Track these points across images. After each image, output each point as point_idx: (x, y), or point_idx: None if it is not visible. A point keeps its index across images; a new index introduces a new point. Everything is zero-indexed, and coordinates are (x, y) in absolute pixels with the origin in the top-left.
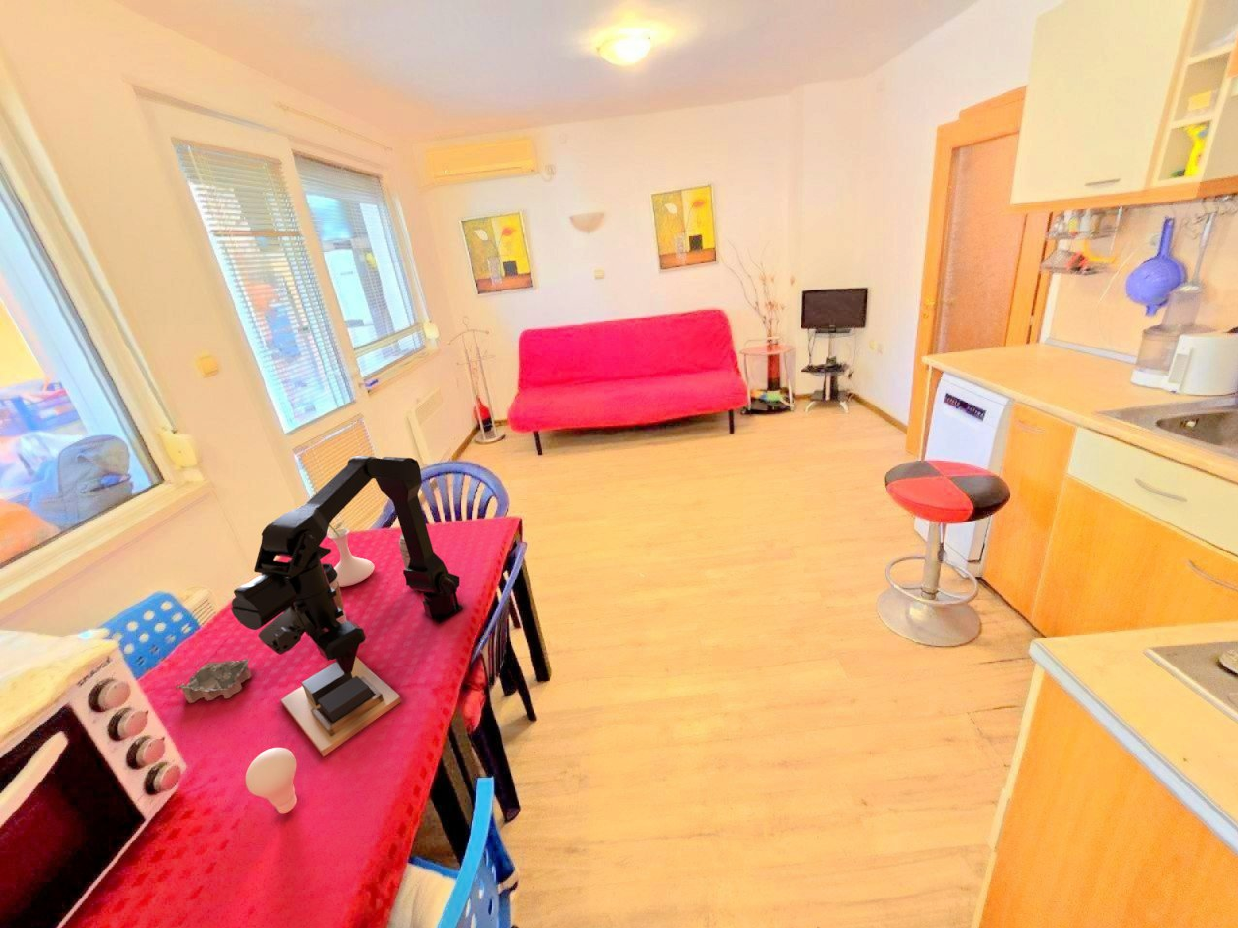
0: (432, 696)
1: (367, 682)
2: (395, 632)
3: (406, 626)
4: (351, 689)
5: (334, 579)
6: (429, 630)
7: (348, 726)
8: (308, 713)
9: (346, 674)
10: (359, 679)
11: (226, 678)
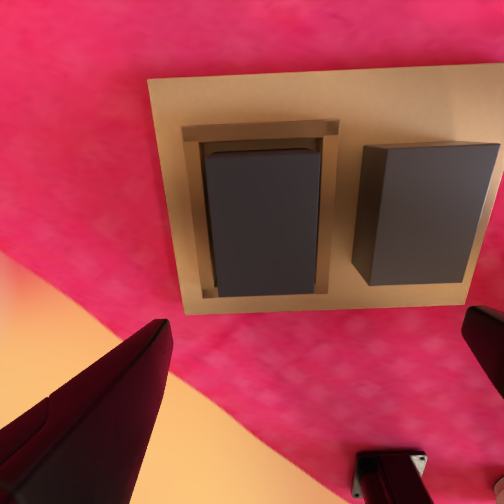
0: None
1: None
2: (437, 390)
3: (429, 412)
4: (258, 256)
5: None
6: (359, 431)
7: (186, 181)
8: (359, 112)
9: (154, 321)
10: (283, 291)
11: None
